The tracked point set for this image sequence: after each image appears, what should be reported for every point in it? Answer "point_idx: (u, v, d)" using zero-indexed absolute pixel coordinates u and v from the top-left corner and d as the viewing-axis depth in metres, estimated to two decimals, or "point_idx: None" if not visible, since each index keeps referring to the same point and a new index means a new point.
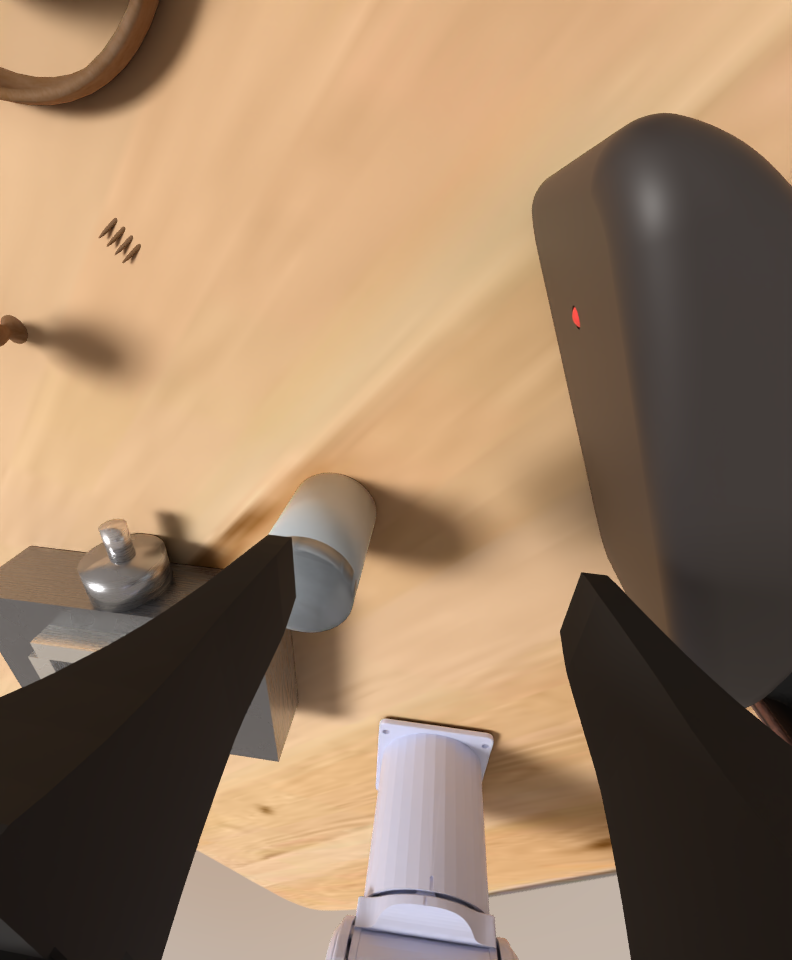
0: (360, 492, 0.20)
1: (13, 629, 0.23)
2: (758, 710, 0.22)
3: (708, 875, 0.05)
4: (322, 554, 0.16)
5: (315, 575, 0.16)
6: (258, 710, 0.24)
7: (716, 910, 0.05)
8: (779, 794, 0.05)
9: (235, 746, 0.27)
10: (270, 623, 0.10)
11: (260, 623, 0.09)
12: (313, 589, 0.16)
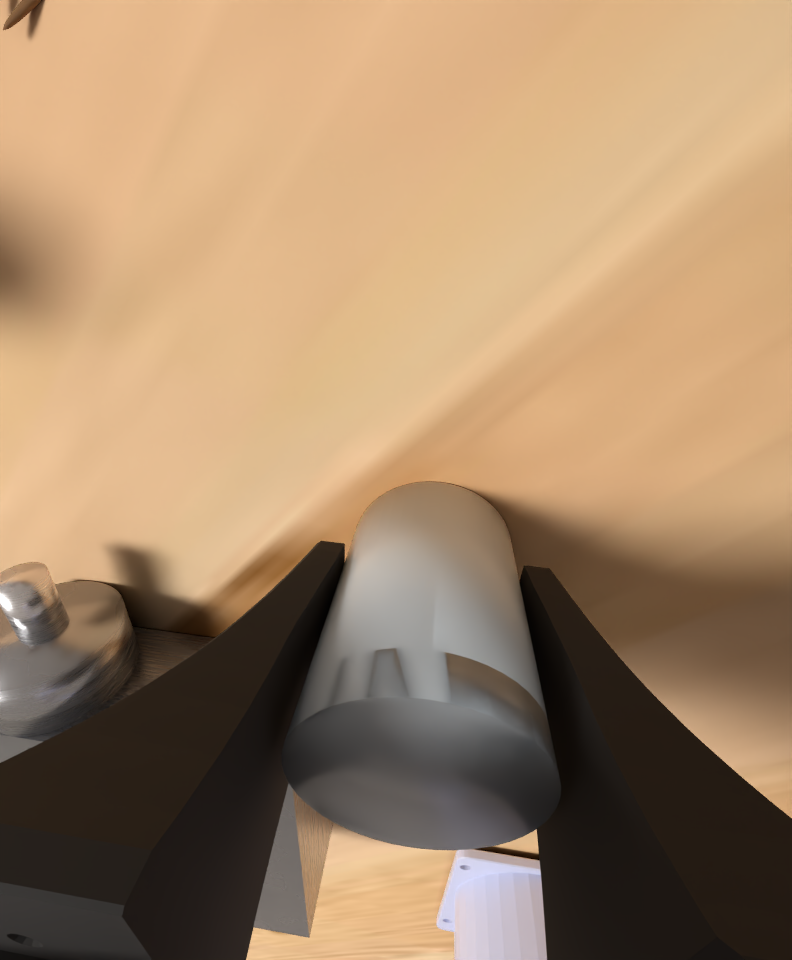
0: (495, 520, 0.10)
1: None
2: None
3: (599, 857, 0.05)
4: (499, 707, 0.06)
5: (474, 755, 0.06)
6: (281, 881, 0.14)
7: (604, 891, 0.05)
8: (663, 777, 0.05)
9: None
10: None
11: (320, 631, 0.09)
12: (457, 782, 0.07)
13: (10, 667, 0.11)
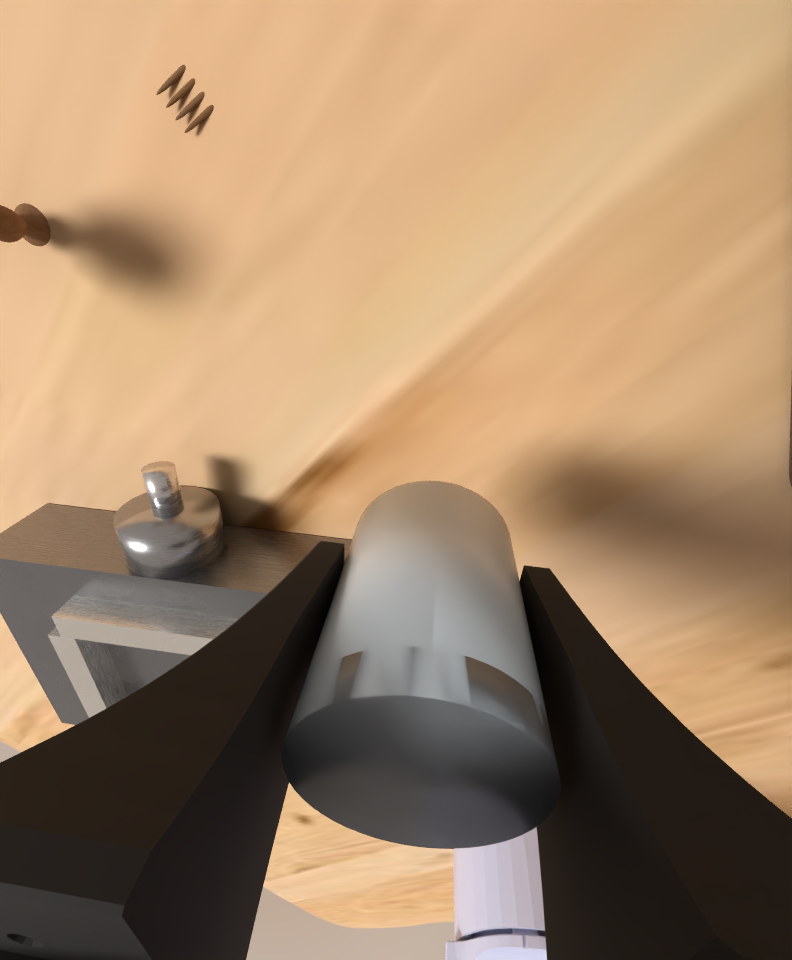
0: (495, 519, 0.10)
1: (28, 602, 0.19)
2: None
3: (600, 857, 0.05)
4: (498, 705, 0.06)
5: (473, 754, 0.06)
6: None
7: (604, 891, 0.05)
8: (664, 777, 0.05)
9: None
10: None
11: (320, 631, 0.09)
12: (457, 779, 0.07)
13: (153, 528, 0.17)
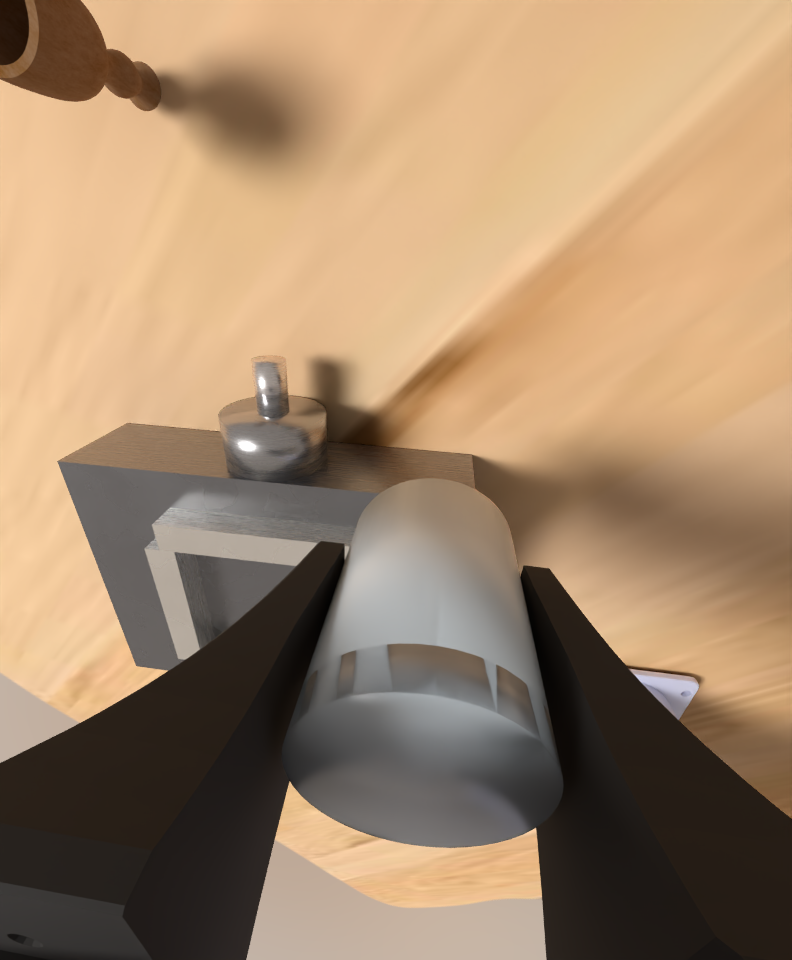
0: (497, 518, 0.10)
1: (118, 518, 0.17)
2: None
3: (599, 857, 0.05)
4: (504, 704, 0.06)
5: (476, 753, 0.06)
6: None
7: (603, 891, 0.05)
8: (663, 777, 0.05)
9: None
10: None
11: (320, 631, 0.09)
12: (459, 779, 0.06)
13: (265, 424, 0.15)
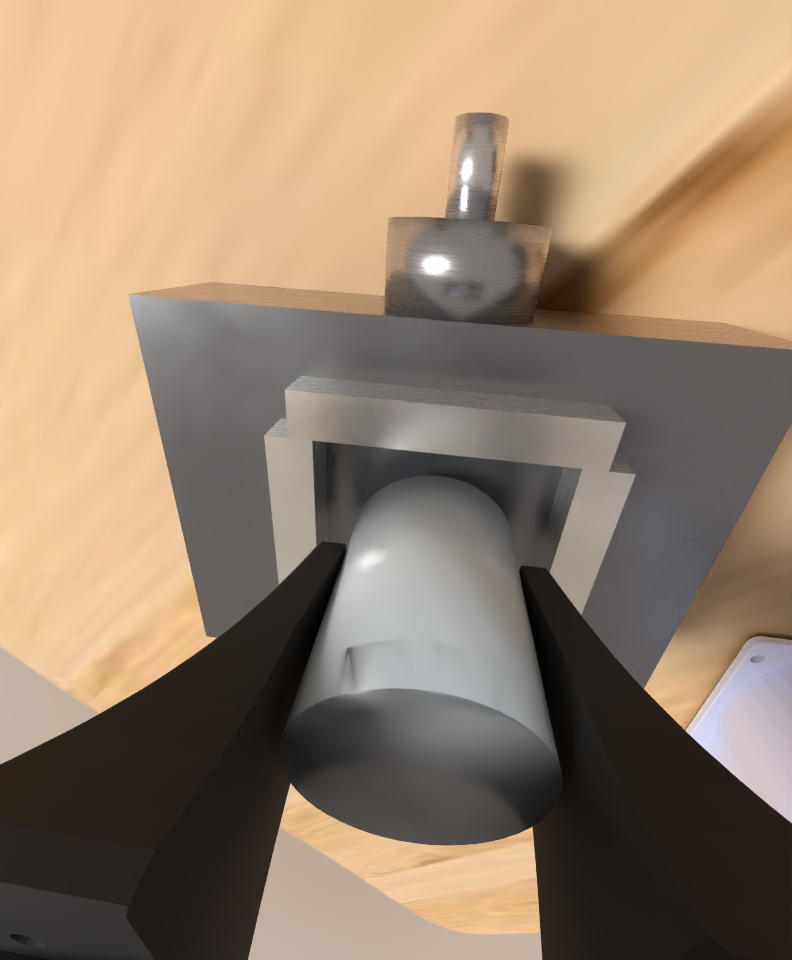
0: (498, 517, 0.10)
1: (213, 398, 0.11)
2: None
3: (594, 856, 0.05)
4: (506, 702, 0.06)
5: (477, 750, 0.06)
6: (673, 583, 0.12)
7: (597, 890, 0.05)
8: (657, 776, 0.05)
9: None
10: None
11: None
12: (459, 776, 0.06)
13: None
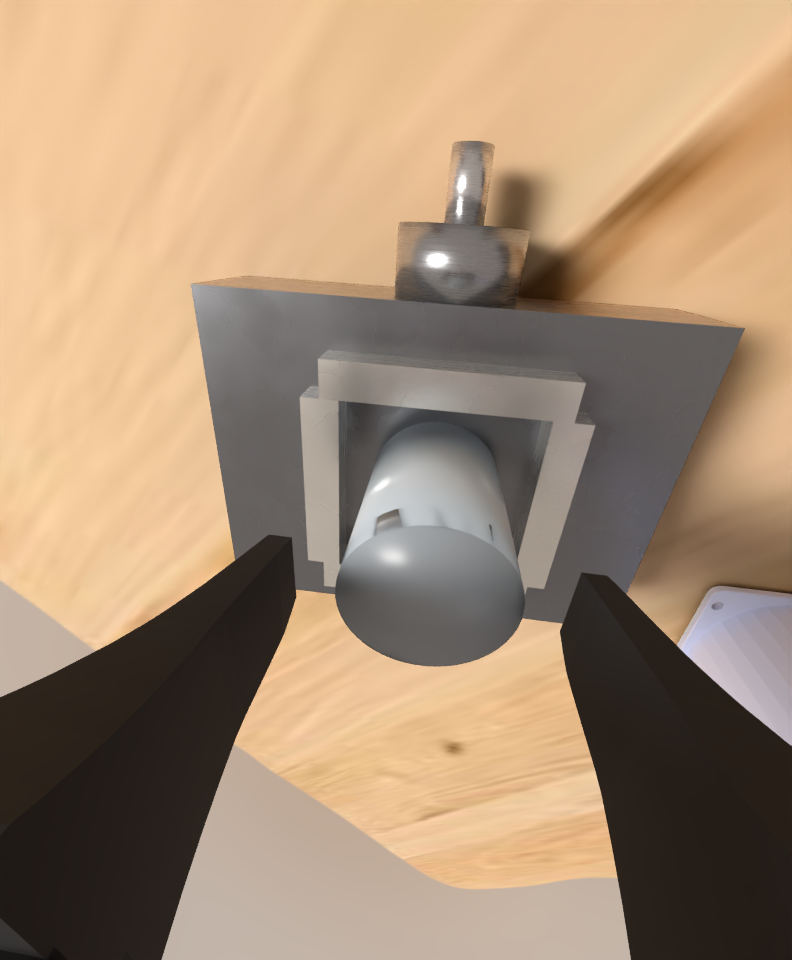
0: (486, 452, 0.14)
1: (255, 369, 0.14)
2: None
3: (708, 875, 0.05)
4: (487, 538, 0.09)
5: (469, 574, 0.09)
6: (633, 524, 0.15)
7: (716, 909, 0.05)
8: (780, 794, 0.05)
9: (549, 603, 0.17)
10: (270, 623, 0.10)
11: (260, 623, 0.09)
12: (456, 599, 0.10)
13: None
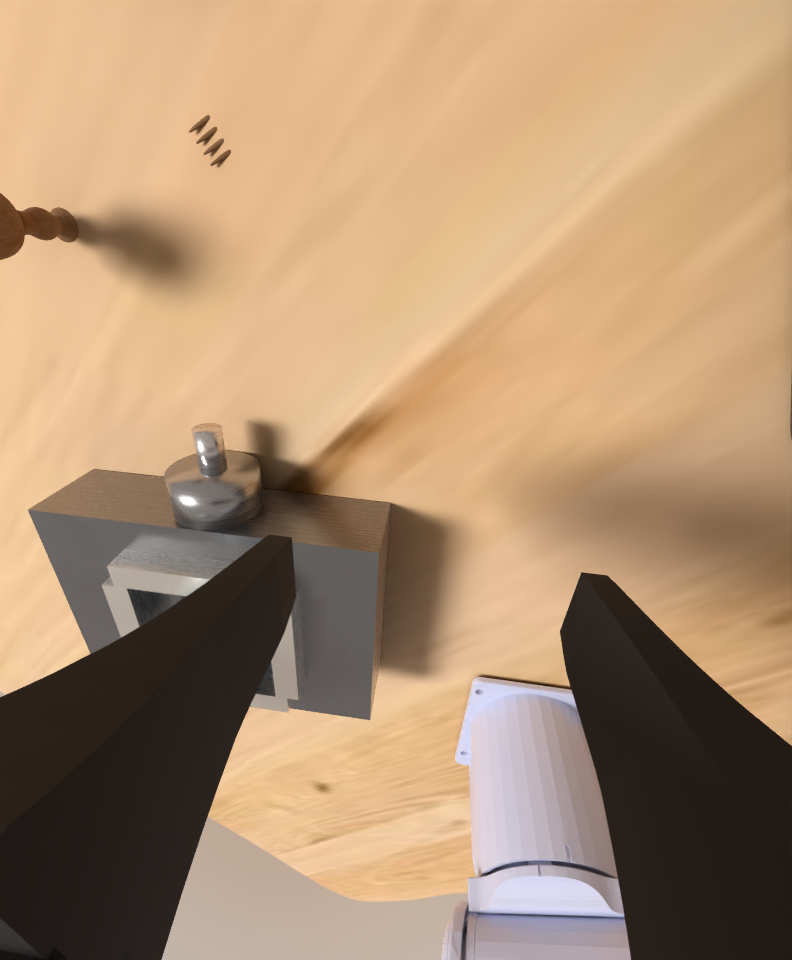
0: None
1: (81, 556, 0.20)
2: None
3: (708, 875, 0.05)
4: None
5: None
6: (358, 656, 0.21)
7: (717, 910, 0.05)
8: (780, 794, 0.05)
9: (322, 701, 0.23)
10: (270, 623, 0.10)
11: (260, 623, 0.09)
12: None
13: (202, 483, 0.18)
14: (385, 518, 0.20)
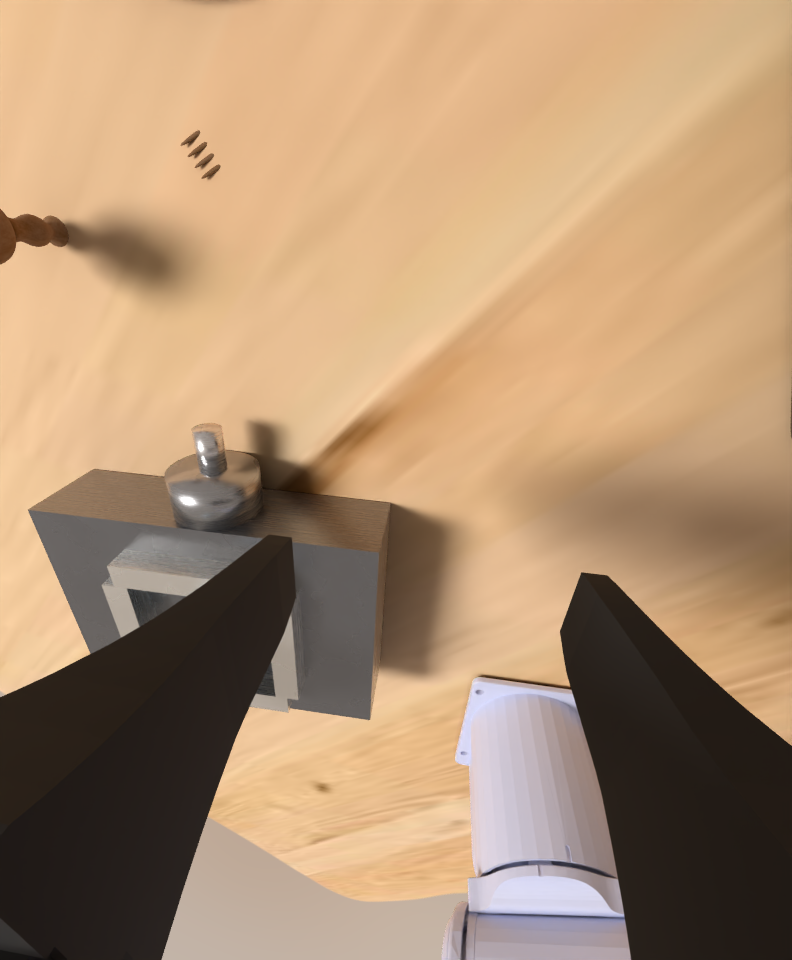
0: None
1: (81, 556, 0.20)
2: None
3: (708, 875, 0.05)
4: None
5: None
6: (358, 656, 0.21)
7: (717, 910, 0.05)
8: (780, 794, 0.05)
9: (322, 701, 0.23)
10: (270, 623, 0.10)
11: (260, 623, 0.09)
12: None
13: (202, 483, 0.18)
14: (385, 518, 0.20)
